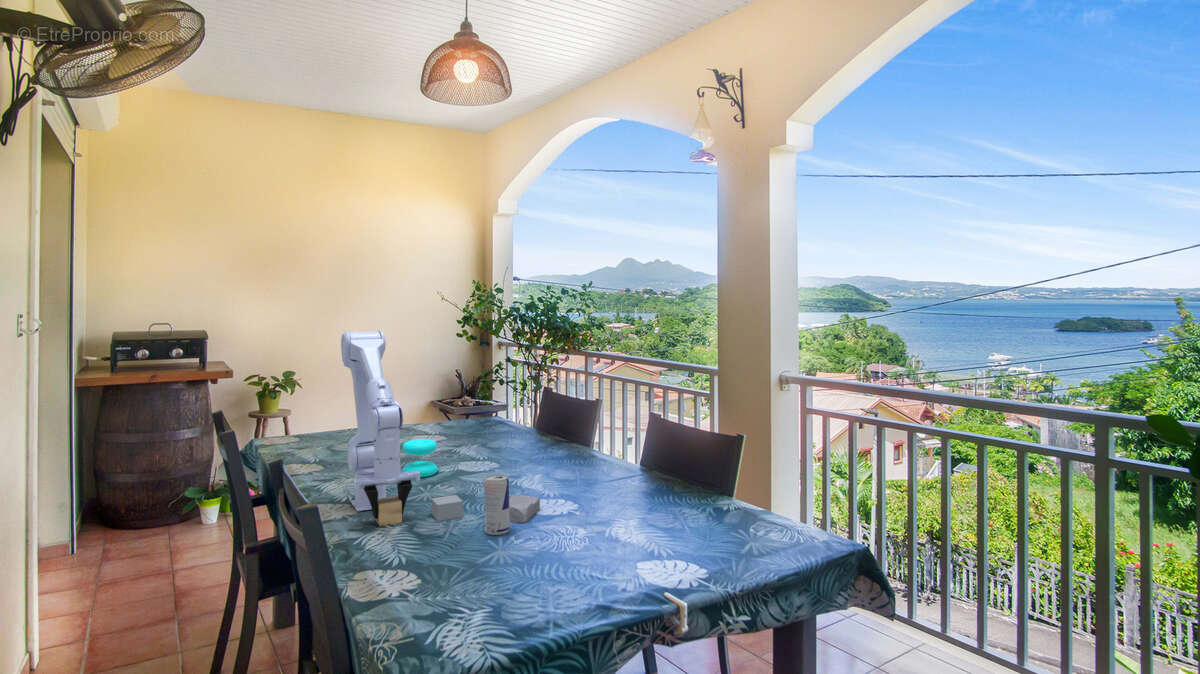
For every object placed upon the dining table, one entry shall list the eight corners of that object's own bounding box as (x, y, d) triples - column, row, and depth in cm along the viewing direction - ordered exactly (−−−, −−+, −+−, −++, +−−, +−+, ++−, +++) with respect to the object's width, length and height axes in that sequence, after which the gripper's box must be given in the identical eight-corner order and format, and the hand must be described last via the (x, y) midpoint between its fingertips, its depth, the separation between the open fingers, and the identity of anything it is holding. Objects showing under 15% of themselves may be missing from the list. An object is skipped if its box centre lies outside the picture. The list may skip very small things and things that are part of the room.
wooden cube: (375, 520, 149) (374, 499, 149) (397, 516, 152) (396, 495, 152) (379, 526, 145) (379, 504, 145) (402, 522, 147) (401, 501, 147)
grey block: (431, 514, 154) (431, 498, 153) (456, 511, 156) (456, 494, 156) (438, 522, 148) (437, 505, 148) (463, 517, 151) (463, 501, 151)
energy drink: (513, 528, 142) (513, 475, 142) (502, 536, 137) (501, 481, 137) (492, 526, 144) (491, 473, 144) (480, 534, 139) (479, 479, 139)
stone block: (488, 530, 148) (529, 523, 146) (484, 509, 148) (524, 503, 146) (506, 515, 159) (543, 509, 157) (502, 496, 159) (540, 490, 158)
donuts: (408, 438, 197) (440, 438, 196) (409, 470, 197) (441, 470, 197) (397, 445, 187) (431, 444, 186) (398, 479, 187) (432, 478, 187)
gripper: (357, 464, 141) (358, 525, 141) (423, 456, 148) (424, 514, 148) (351, 458, 147) (353, 517, 147) (415, 451, 154) (416, 506, 155)
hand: (388, 515), depth 148 cm, fingers closed on wooden cube, 5 cm apart
